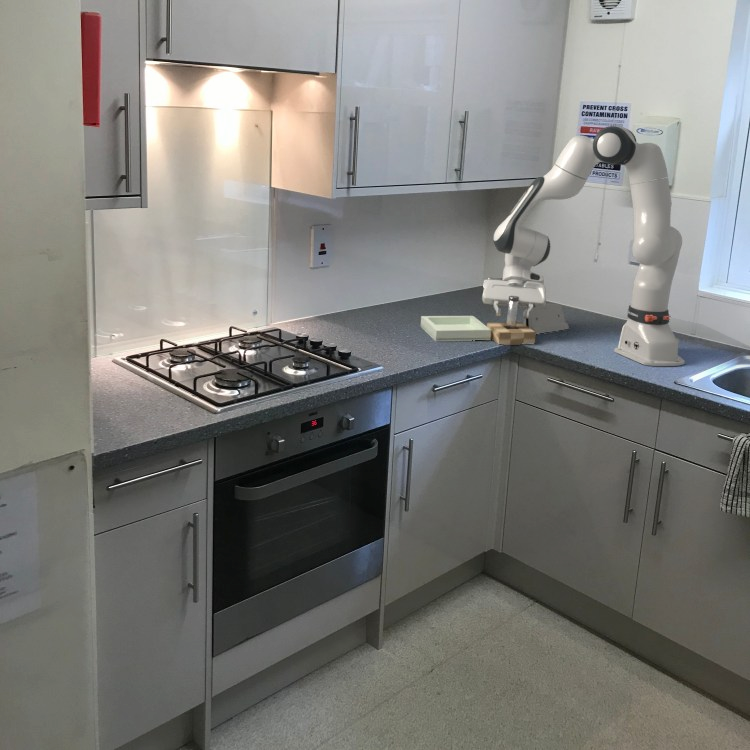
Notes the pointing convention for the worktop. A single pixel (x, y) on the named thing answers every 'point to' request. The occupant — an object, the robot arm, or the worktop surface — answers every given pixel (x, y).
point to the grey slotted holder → (546, 319)
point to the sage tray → (455, 328)
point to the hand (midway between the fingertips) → (512, 316)
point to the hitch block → (511, 334)
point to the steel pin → (512, 312)
